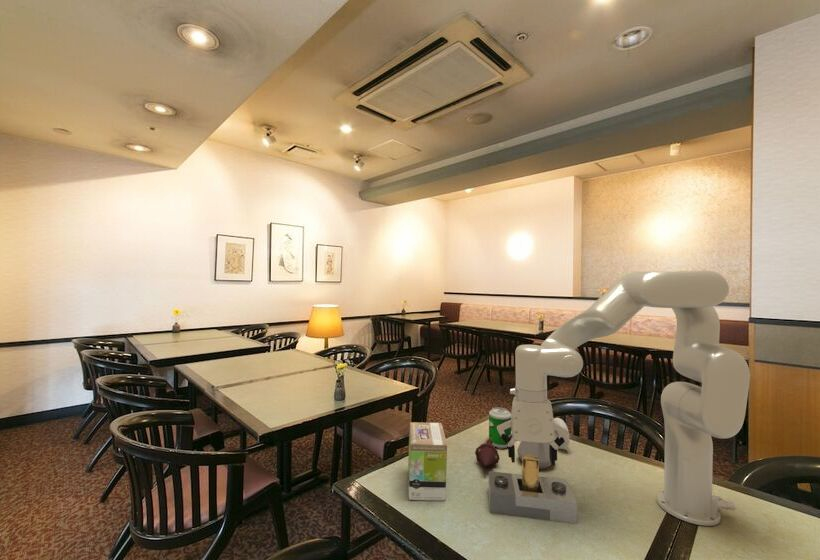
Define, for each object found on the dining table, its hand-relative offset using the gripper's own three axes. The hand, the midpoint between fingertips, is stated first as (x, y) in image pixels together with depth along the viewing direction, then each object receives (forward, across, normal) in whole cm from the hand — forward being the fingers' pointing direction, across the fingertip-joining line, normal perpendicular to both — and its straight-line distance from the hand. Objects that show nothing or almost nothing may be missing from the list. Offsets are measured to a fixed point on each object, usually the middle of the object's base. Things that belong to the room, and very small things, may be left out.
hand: (532, 461), depth 91 cm
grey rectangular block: (+11, -1, 0) cm, 11 cm away
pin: (+11, -1, 0) cm, 11 cm away
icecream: (+11, -11, +18) cm, 24 cm away
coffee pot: (+12, +5, +18) cm, 22 cm away
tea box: (+11, -28, +4) cm, 30 cm away
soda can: (+11, -6, +33) cm, 35 cm away
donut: (+12, +14, +35) cm, 39 cm away
